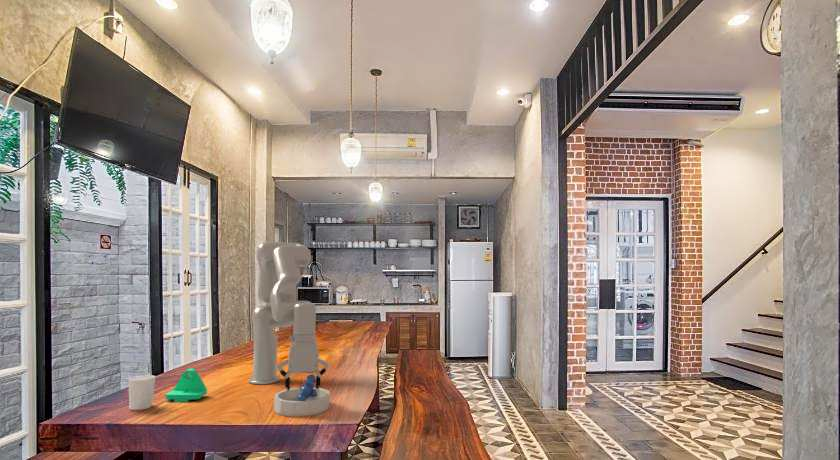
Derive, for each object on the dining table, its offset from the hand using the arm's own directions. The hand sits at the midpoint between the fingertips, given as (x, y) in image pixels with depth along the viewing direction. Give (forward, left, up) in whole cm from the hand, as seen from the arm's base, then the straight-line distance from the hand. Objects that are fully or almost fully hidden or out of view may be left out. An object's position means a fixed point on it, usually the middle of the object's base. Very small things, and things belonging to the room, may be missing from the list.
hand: (302, 388), depth 165 cm
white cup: (-12, -54, -7) cm, 56 cm away
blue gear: (0, 0, -5) cm, 5 cm away
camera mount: (-20, -42, -7) cm, 47 cm away
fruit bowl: (0, 0, -7) cm, 7 cm away
